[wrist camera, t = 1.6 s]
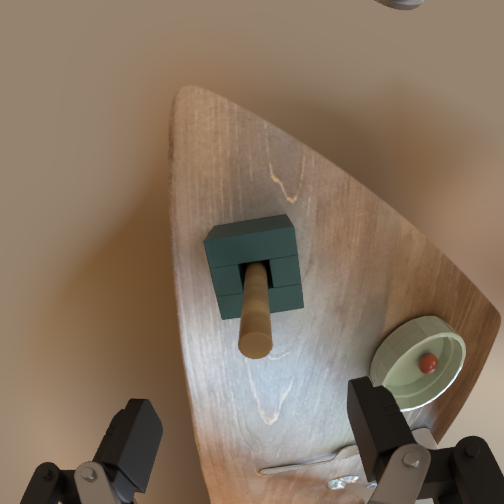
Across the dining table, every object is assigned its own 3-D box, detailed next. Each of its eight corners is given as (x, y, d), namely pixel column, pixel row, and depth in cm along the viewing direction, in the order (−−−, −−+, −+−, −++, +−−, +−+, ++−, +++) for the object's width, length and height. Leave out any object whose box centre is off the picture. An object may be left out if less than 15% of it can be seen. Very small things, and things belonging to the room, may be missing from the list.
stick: (245, 248, 30) (235, 334, 14) (263, 245, 30) (269, 329, 14) (248, 264, 30) (241, 361, 15) (266, 261, 30) (274, 357, 15)
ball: (416, 352, 33) (425, 364, 30) (433, 346, 33) (443, 358, 30) (413, 368, 34) (422, 380, 31) (430, 362, 34) (439, 374, 31)
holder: (213, 226, 29) (203, 241, 23) (286, 214, 29) (294, 226, 23) (227, 292, 31) (221, 320, 25) (295, 282, 31) (304, 308, 25)
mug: (390, 437, 39) (405, 473, 31) (434, 418, 39) (452, 450, 30) (387, 463, 43) (397, 495, 34) (425, 447, 42) (439, 476, 33)
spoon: (369, 446, 40) (371, 452, 38) (264, 475, 43) (264, 482, 41) (366, 436, 39) (368, 442, 37) (256, 467, 42) (256, 474, 40)
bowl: (371, 326, 32) (385, 349, 27) (454, 303, 31) (474, 320, 27) (365, 398, 36) (375, 422, 31) (439, 374, 35) (453, 393, 30)
